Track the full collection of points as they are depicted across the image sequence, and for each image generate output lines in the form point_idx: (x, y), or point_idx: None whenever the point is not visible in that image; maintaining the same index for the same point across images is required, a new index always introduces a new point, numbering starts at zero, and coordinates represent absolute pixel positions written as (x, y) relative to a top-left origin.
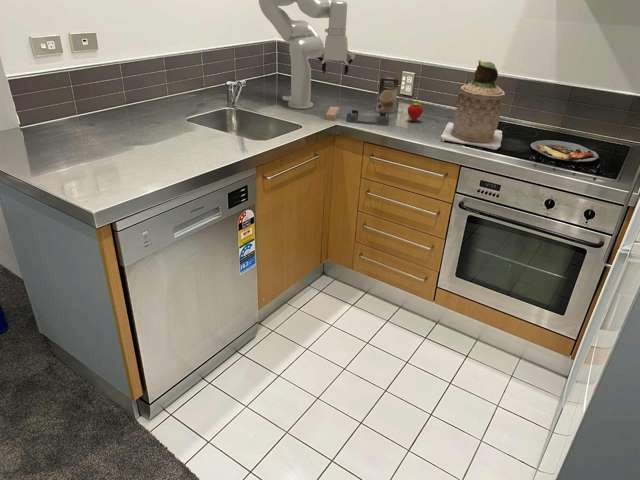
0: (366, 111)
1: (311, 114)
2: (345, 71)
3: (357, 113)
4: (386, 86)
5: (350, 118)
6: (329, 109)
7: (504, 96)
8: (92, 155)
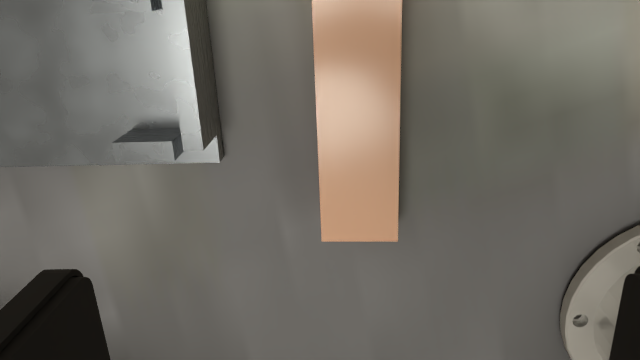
0: (128, 315)
1: (553, 92)
2: (13, 310)
3: (129, 133)
4: None
5: None
6: (394, 144)
7: None
8: None
